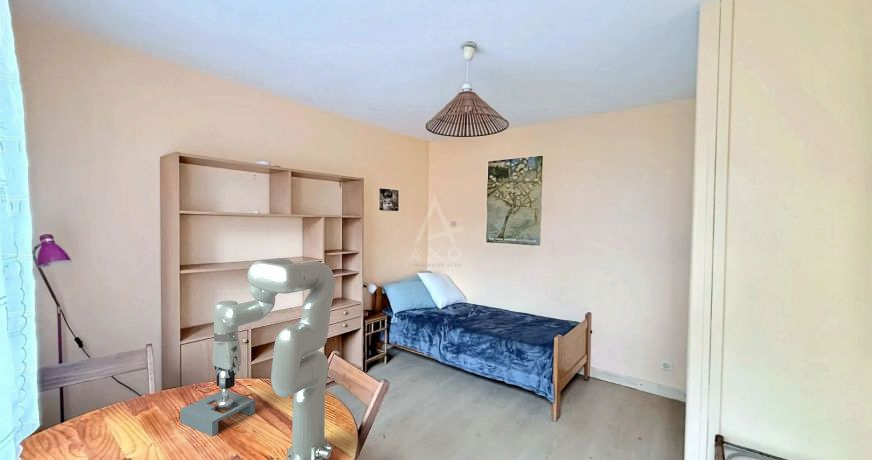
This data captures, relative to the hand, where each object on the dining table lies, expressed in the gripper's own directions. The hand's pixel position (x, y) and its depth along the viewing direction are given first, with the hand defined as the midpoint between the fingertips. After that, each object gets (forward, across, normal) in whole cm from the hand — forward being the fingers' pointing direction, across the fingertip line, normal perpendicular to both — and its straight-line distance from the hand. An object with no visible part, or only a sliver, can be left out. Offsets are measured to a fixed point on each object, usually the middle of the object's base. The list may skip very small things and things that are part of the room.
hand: (225, 385), depth 125 cm
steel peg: (+7, 0, 0) cm, 7 cm away
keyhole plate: (+13, +4, 0) cm, 13 cm away
